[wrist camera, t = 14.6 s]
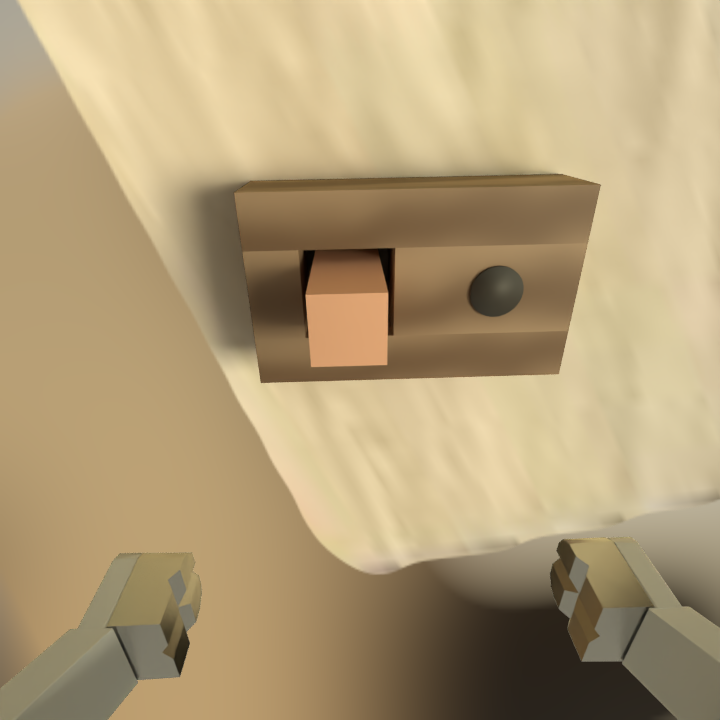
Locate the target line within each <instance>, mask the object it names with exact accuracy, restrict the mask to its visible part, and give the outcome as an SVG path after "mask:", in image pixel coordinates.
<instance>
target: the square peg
mask: <svg viewBox="0 0 720 720" xmlns="http://www.w3.org/2000/svg"><path fill="white" fill-rule="evenodd" d="M306 308H307V321H308V334H309V346H310V359H311V367H333V366H369V365H387V347H388V290H387V285H386V281H385V277H384V273H383V269H382V265H381V261H380V257H379V252H378V248H372V249H331V250H315V254H314V259H313V263H312V268H311V272H310V277H309V281H308V286H307V290H306Z"/></svg>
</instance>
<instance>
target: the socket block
mask: <svg viewBox="0 0 720 720" xmlns="http://www.w3.org/2000/svg"><path fill="white" fill-rule="evenodd" d="M600 186H601V185H600V184H597V183H593V182H589V181H585V180H582V179H578V178H574V177H571V176H567V175H563V174H550V175H504V176H458V177H412V178H366V179H320V180H274V181H250V182H249V183H247V184H246V185H244V186H243V187H242V188H240V189H239V190H237V191H236V192H234V197H235V204H236V211H237V218H238V225H239V232H240V239H241V246H242V253H243V260H244V267H245V274H246V281H247V288H248V295H249V303H250V310H251V317H252V324H253V331H254V338H255V345H256V352H257V359H258V366H259V373H260V380H261V383H272V382H306V381H341V380H375V379H409V378H443V377H477V376H511V375H545V374H559V370H560V366H561V361H562V357H563V352H564V348H565V343H566V339H567V334H568V330H569V325H570V321H571V316H572V312H573V307H574V303H575V298H576V294H577V289H578V285H579V280H580V276H581V271H582V267H583V262H584V258H585V253H586V249H587V244H588V240H589V235H590V231H591V226H592V222H593V217H594V213H595V208H596V204H597V199H598V195H599V190H600ZM372 248H378V252H379V257H380V261H381V265H382V269H383V273H384V277H385V281H386V285H387V290H388V347H387V365H369V366H333V367H311V359H310V346H309V334H308V321H307V308H306V290H307V286H308V281H309V277H310V272H311V268H312V263H313V259H314V254H315V250H331V249H372Z"/></svg>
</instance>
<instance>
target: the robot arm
mask: <svg viewBox="0 0 720 720" xmlns="http://www.w3.org/2000/svg"><path fill="white" fill-rule="evenodd" d="M557 553H558V555H559V556H560V558H559V559H558V560H557V561H555V562H554V563H553V564H552V568H551V572H550V580H551V589H552V592H553V596H554V599H555V601H556V604H557V606H558V608H559V609H560V610H561V611H562V612H563V613H564V614H565V615H567V616H568V617H569V618H570V621H569V625H568V631H569V634H570V636H571V638H572V641H573V643H574V645H575V647H576V650H577V652H578V654H579V657H580V659H581V661H623V663H622V664H623V665H624V666H625V667H626V668H627V669H628V670H629V671H630V672H631V673H632V674H633V675H634V676H635V677H636V678H637V679H638V680H639V681H640V682H641V683H642V684H643V685H644V686H645V687H646V688H647V689H648V690H649V691H650V692H651V693H652V694H653V695H654V696H655V697H656V698H657V699H658V700H659V701H660V702H661V703H662V704H663V705H664V706H665V707H666V708H667V709H668V710H669V711H670V712H671V713H672V714H673V715H674V716H675V717H676V718H677V719H678V720H720V628H719V627H717V626H716V625H714V624H713V623H712V622H710V621H709V620H707V619H706V618H704V617H703V616H701V615H700V614H699V613H697V612H696V611H694V610H693V609H692V608H690V607H682V606H681V605H680V603H679V602H678V600H677V599H676V597H675V596H674V594H673V593H672V592H671V590H670V589H669V587H668V586H667V584H666V583H665V581H664V580H663V579H662V577H661V576H660V574H659V573H658V571H657V570H656V568H655V567H654V566H653V565H652V563H651V561H650V560H649V558H648V557H647V555H646V554H645V553H644V551H643V550H642V548H641V547H640V545H639V544H638V542H637V541H636V540H634V539H633V538H632V537H616V538H605V537H601V538H581V539H563V540H561V542H559V544H558V547H557ZM194 565H195V560H194V557H193V554H192V553H122V554H121V553H120V554H119V555H118V556H117V557H116V558H115V559H114V560H113V561H112V563H111V565H110V567H109V569H108V571H107V573H106V575H105V577H104V579H103V581H102V582H101V584H100V586H99V588H98V590H97V592H96V594H95V596H94V598H93V600H92V602H91V604H90V606H89V608H88V609H87V611H86V613H85V615H84V617H83V619H82V621H81V623H80V625H79V627H78V629H70V630H69V631H67V632H66V633H65V634H64V635H63V636H62V637H60V638H59V639H58V640H57V641H56V642H54V643H53V644H52V645H51V646H50V647H49V648H47V649H46V650H45V651H44V652H43V653H42V654H40V655H39V656H38V657H37V658H36V659H34V660H33V661H32V662H31V663H30V664H29V665H27V666H26V667H25V668H24V669H23V670H21V671H20V672H19V673H18V674H17V675H16V676H14V677H13V678H12V679H11V680H10V681H9V682H7V683H6V684H5V685H4V686H3V687H2V688H0V720H108V719H109V717H110V716H111V715H112V714H113V713H114V711H115V710H116V709H117V708H118V706H119V705H120V704H121V703H122V702H123V700H124V699H125V698H126V697H127V696H128V694H129V693H130V692H131V691H132V689H133V688H134V687H135V686H136V685H137V683H138V681H137V680H144V679H159V678H173V677H180V675H181V672H182V668H183V665H184V661H185V658H186V655H187V651H188V648H189V645H190V642H189V639H188V636H187V631H188V630H189V629H190V628H191V627H192V625H194V623H195V622H196V620H197V617H198V613H199V609H200V602H201V595H202V591H201V581H200V578H199V575H197V574H196V573H194V572H193V568H194Z"/></svg>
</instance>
